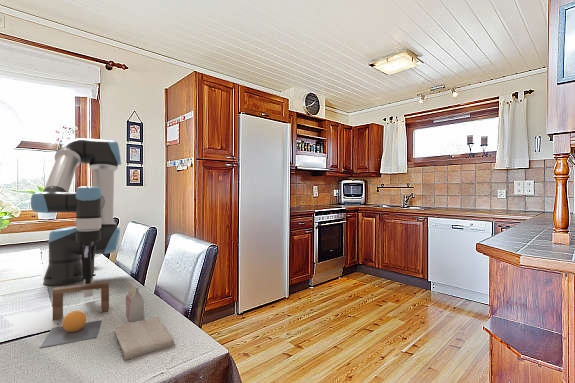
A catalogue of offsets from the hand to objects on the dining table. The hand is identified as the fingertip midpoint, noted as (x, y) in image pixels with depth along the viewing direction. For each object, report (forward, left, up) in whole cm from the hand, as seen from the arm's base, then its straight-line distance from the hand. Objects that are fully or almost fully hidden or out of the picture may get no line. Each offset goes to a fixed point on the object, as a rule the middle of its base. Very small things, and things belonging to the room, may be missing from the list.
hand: (88, 295), depth 106 cm
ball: (+26, 0, +1) cm, 26 cm away
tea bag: (+23, +15, -2) cm, 28 cm away
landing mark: (+27, 0, -2) cm, 27 cm away
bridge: (+13, 0, -2) cm, 13 cm away
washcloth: (+39, +17, -3) cm, 43 cm away
